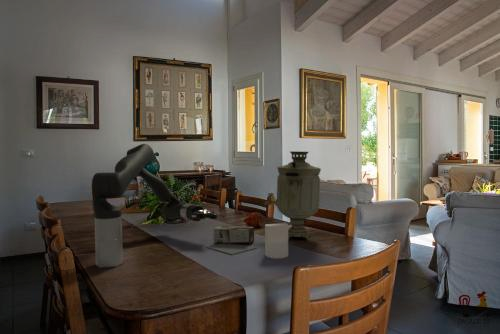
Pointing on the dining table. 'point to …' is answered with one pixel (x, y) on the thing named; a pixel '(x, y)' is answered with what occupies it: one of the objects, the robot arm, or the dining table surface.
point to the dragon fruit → (254, 219)
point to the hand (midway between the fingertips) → (215, 216)
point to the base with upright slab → (276, 240)
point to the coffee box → (234, 235)
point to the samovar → (297, 193)
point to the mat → (231, 248)
